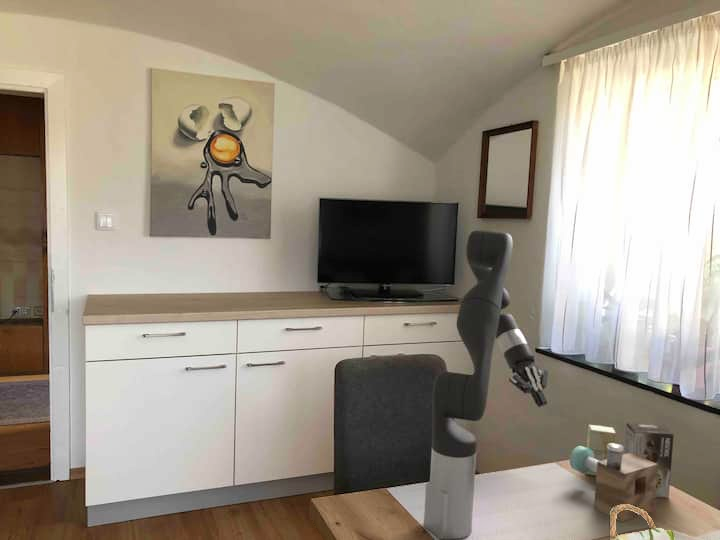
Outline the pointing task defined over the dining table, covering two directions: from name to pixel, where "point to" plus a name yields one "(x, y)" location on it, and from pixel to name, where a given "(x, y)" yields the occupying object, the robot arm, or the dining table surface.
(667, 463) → the coffee box
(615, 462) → the dial post
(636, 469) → the mount
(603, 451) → the skincare box
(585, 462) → the knob
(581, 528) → the dining table surface
